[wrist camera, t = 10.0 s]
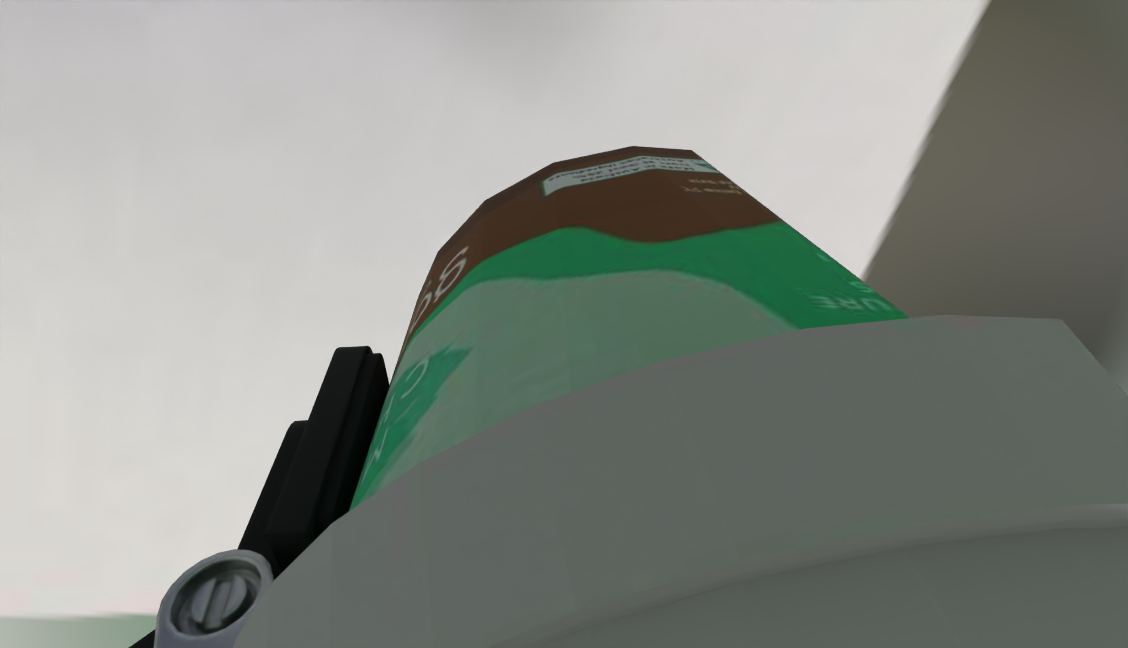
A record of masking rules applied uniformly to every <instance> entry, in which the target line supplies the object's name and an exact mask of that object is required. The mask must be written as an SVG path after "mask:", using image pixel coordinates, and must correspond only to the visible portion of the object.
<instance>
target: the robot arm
mask: <svg viewBox="0 0 1128 648" xmlns="http://www.w3.org/2000/svg"><path fill="white" fill-rule="evenodd" d="M389 386H390V385H389V381H388V377H387V372H386V368H385V363H384V359H383V356H382V354H381V353H374V354H373V353H372V350H371V348H370V347H369V346H358V347H339V348H337V349H336V350H335V352H334V355H333V357H332V360H331V362H330V365H329V367H328V370H327V373H326V375H325V378H324V380H323V383H322V385H321V388H320V391H319V393H318V396H317V398H316V401H315V403H314V406H313V409H312V411H311V414H310V416H309V419H308V420H305V421H295V422H293V423H292V424H291V425H290V427H289V429H288V430H287V432H286V435H285V437H284V439H283V442H282V444H281V447H280V449H279V451H278V454H277V456H276V459H275V461H274V463H273V466H272V468H271V470H270V473H269V475H268V478H267V480H266V482H265V485H264V487H263V490H262V492H261V494H260V497H259V499H258V501H257V504H256V506H255V509H254V511H253V513H252V516H251V518H250V521H249V523H248V525H247V528H246V530H245V532H244V535H243V537H242V540H241V542H240V544H239V547H238V549H234V550H230V551H225V552H220V553H217V554H215V555H212V556H210V557H208V558H206V559H203V560H201V561H200V562H198V563H197V564H195V565H194V566H192V567H191V568H189V569H188V570H187V571H185V572H184V573H183V574H182V575H181V576H180V577H179V578H178V579H177V580H176V581H175V582H174V583H173V584H172V585H171V587H170V588H169V590H168V591H167V593H166V595H165V596H164V598H163V599H162V601H161V605H160V608H159V611H158V615H157V622H156V629H155V630H153V631H152V632H151V633H149V634H148V635H146V636H145V637H144V638H142V639H141V640H139V641H138V642H137V643H135V644H134V645H132V646H131V647H129V648H233V646H234V643H235V640H236V638H237V637H238V635H239V633H240V632H241V630H242V629H243V627H244V625H245V624H246V622H247V621H248V619H249V618H250V616H251V614H252V613H253V611H254V610H255V608H256V607H257V605H258V603H259V602H260V600H261V599H262V597H263V595H264V594H265V592H266V591H267V589H268V588H269V586H270V584H271V583H272V582H273V581H274V580H275V579H276V578H277V577H278V576H279V575H280V574H281V573H282V572H283V571H284V570H285V569H286V568H287V567H288V566H289V565H290V564H291V563H292V562H293V561H294V560H295V559H296V558H297V557H298V556H299V555H300V554H301V553H302V552H304V551H305V550H306V549H307V548H308V547H309V546H310V545H311V544H312V543H313V542H314V541H315V540H316V539H317V538H318V537H319V536H320V535H321V534H322V533H323V532H324V531H325V530H326V529H327V528H328V527H329V526H330V525H331V524H332V523H333V522H335V521H336V520H337V519H339V518H340V517H342V516H343V515H345V514H346V513H348V512H349V509H350V506H351V503H352V499H353V496H354V493H355V490H356V487H357V484H358V481H359V478H360V475H361V472H362V469H363V466H364V463H365V460H366V456H367V453H368V450H369V447H370V444H371V441H372V438H373V435H374V432H375V429H376V426H377V423H378V420H379V417H380V413H381V410H382V407H383V404H384V401H385V398H386V395H387V392H388V389H389Z"/></svg>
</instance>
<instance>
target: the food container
mask: <svg viewBox="0 0 1128 648" xmlns="http://www.w3.org/2000/svg"><path fill="white" fill-rule="evenodd" d="M233 648H1128V395H1127V394H1126V393H1125V392H1124V391H1123V390H1122V389H1121V387H1120V386H1119V385H1118V384H1117V383H1116V382H1115V381H1114V380H1113V378H1112V377H1111V376H1110V375H1109V374H1108V373H1107V372H1106V370H1105V369H1104V368H1103V367H1102V366H1101V365H1100V363H1099V362H1098V361H1097V360H1096V359H1095V358H1094V357H1093V356H1092V354H1091V353H1090V352H1089V351H1088V350H1087V349H1086V348H1085V347H1084V345H1083V344H1082V343H1081V342H1080V341H1079V340H1078V338H1077V337H1076V336H1075V335H1074V334H1073V333H1072V332H1071V330H1070V329H1069V328H1068V327H1067V326H1066V325H1065V324H1064V322H1062V320H1061V319H1042V318H1011V317H983V316H952V315H938V316H928V317H918V318H910V317H909V316H907V315H906V314H905V313H903V312H902V311H901V310H899V309H898V308H897V307H896V306H894V305H893V304H892V303H890V302H889V301H888V300H886V299H885V298H884V297H882V296H881V295H880V294H878V293H877V292H876V291H875V290H873V289H872V288H871V287H870V286H868V285H867V284H866V283H864V282H863V281H862V280H860V279H859V278H858V277H856V276H855V275H854V274H853V273H851V272H850V271H849V270H847V269H846V268H845V267H843V266H842V265H841V264H839V263H838V262H837V261H836V260H834V259H833V258H832V257H830V256H829V255H828V254H826V253H825V252H824V251H823V250H821V249H820V248H819V247H817V246H816V245H815V244H813V243H812V242H811V241H809V240H808V239H807V238H806V237H804V236H803V235H802V234H800V233H799V232H798V231H796V230H795V229H794V228H792V227H791V226H790V225H789V224H787V223H786V222H785V221H783V220H782V219H781V218H779V217H778V216H777V215H776V214H774V213H773V212H772V211H770V210H769V209H768V208H766V207H765V206H764V205H762V204H761V203H760V202H759V201H757V200H756V199H755V198H753V197H752V196H751V195H749V194H748V193H747V192H746V191H744V190H743V189H742V188H740V187H739V186H738V185H736V184H735V183H734V182H732V181H731V180H730V179H729V178H727V177H726V176H725V175H723V174H722V173H721V172H719V171H718V170H717V169H715V168H714V167H713V166H712V165H710V164H709V163H708V162H706V161H705V160H704V159H702V158H701V157H700V156H699V155H697V154H696V153H695V152H693V151H692V150H682V149H667V148H653V147H638V146H631V147H626V148H621V149H617V150H612V151H607V152H602V153H597V154H593V155H588V156H583V157H578V158H574V159H569V160H564V161H559V162H554V163H552V164H550V165H548V166H546V167H545V168H543V169H541V170H539V171H537V172H536V173H534V174H532V175H530V176H528V177H527V178H525V179H523V180H521V181H519V182H518V183H516V184H514V185H512V186H510V187H508V188H507V189H505V190H503V191H501V192H499V193H498V194H496V195H494V196H492V197H490V198H489V199H487V200H485V201H484V202H483V203H482V204H481V205H480V206H479V208H478V209H477V210H476V211H475V212H474V213H473V214H472V215H471V216H470V217H469V218H468V220H467V221H466V222H465V223H464V224H463V225H462V226H461V227H460V228H459V229H458V230H457V231H456V233H455V234H454V235H453V236H452V237H451V238H450V239H449V240H448V241H447V242H446V243H445V244H444V246H443V247H442V248H441V249H440V250H439V251H438V253H437V255H436V257H435V260H434V262H433V264H432V266H431V269H430V271H429V273H428V276H427V278H426V280H425V283H424V285H423V287H422V290H421V292H420V294H419V297H418V300H417V303H416V306H415V309H414V312H413V315H412V318H411V321H410V324H409V327H408V330H407V334H406V337H405V340H404V343H403V346H402V349H401V352H400V355H399V358H398V361H397V364H396V367H395V370H394V374H393V377H392V380H391V383H390V386H389V389H388V392H387V395H386V398H385V401H384V404H383V407H382V410H381V413H380V417H379V420H378V423H377V426H376V429H375V432H374V435H373V438H372V441H371V444H370V447H369V450H368V453H367V456H366V460H365V463H364V466H363V469H362V472H361V475H360V478H359V481H358V484H357V487H356V490H355V493H354V496H353V499H352V503H351V506H350V509H349V512H348V513H346V514H345V515H343V516H342V517H340V518H339V519H337V520H336V521H335V522H333V523H332V524H331V525H330V526H329V527H328V528H327V529H326V530H325V531H324V532H323V533H322V534H321V535H320V536H319V537H318V538H317V539H316V540H315V541H314V542H313V543H312V544H311V545H310V546H309V547H308V548H307V549H306V550H305V551H304V552H302V553H301V554H300V555H299V556H298V557H297V558H296V559H295V560H294V561H293V562H292V563H291V564H290V565H289V566H288V567H287V568H286V569H285V570H284V571H283V572H282V573H281V574H280V575H279V576H278V577H277V578H276V579H275V580H274V581H273V582H272V583H271V584H270V586H269V588H268V589H267V591H266V592H265V594H264V595H263V597H262V599H261V600H260V602H259V603H258V605H257V607H256V608H255V610H254V611H253V613H252V614H251V616H250V618H249V619H248V621H247V622H246V624H245V625H244V627H243V629H242V630H241V632H240V633H239V635H238V637H237V638H236V640H235V643H234V646H233Z"/></svg>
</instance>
